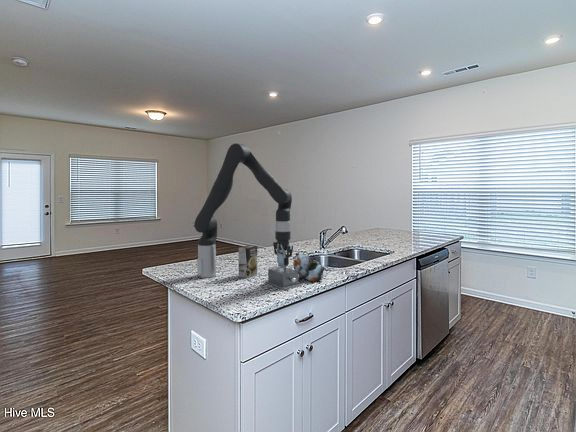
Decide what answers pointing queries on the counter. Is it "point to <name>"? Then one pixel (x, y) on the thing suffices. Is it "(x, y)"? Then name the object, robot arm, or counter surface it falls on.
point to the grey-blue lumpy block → (308, 268)
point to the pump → (281, 259)
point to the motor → (283, 277)
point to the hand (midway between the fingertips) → (282, 263)
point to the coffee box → (247, 261)
